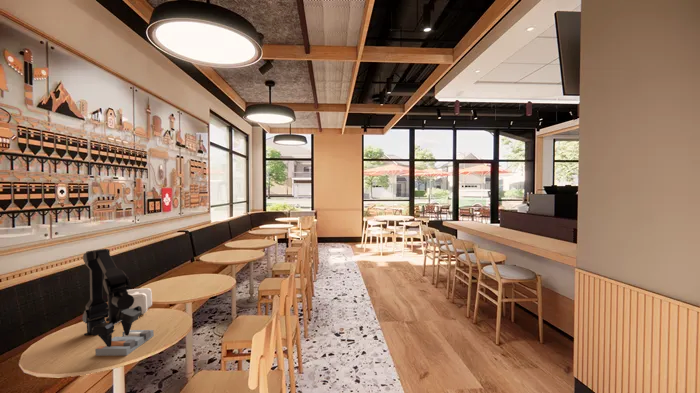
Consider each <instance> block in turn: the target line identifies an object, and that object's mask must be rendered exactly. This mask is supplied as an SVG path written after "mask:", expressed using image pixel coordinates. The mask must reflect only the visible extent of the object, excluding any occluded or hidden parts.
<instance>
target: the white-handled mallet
mask: <svg viewBox="0 0 700 393" xmlns="http://www.w3.org/2000/svg"><path fill="white" fill-rule="evenodd" d="M143 330H144V331H143V332H129V335H125V334H124V337H144V340H147V339H148V338H149V337H151V334H150V330H151V329H143ZM151 338H152V337H151ZM147 341H148V340H147Z"/></svg>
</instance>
